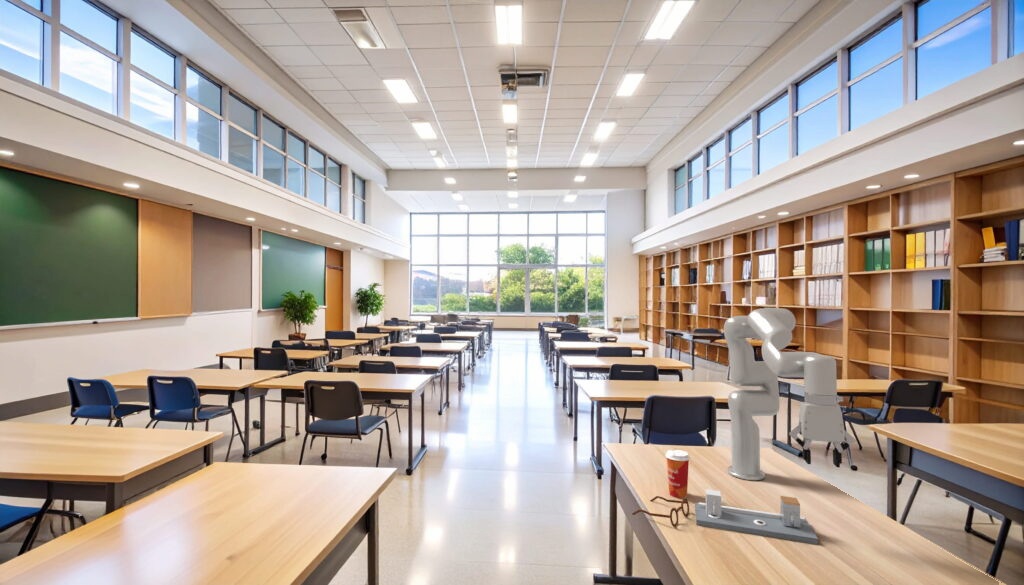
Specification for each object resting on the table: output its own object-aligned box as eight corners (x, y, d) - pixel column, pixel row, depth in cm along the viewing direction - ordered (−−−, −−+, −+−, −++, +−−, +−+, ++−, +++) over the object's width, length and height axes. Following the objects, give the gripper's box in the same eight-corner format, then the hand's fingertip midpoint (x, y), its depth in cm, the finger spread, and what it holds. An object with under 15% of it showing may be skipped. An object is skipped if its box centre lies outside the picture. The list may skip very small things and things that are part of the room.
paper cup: (662, 490, 152) (661, 449, 153) (683, 489, 153) (683, 448, 153) (672, 500, 145) (671, 457, 145) (694, 499, 145) (694, 456, 146)
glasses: (673, 530, 126) (672, 512, 126) (631, 515, 135) (631, 499, 135) (690, 514, 136) (690, 497, 136) (650, 501, 145) (650, 486, 145)
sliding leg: (780, 518, 128) (780, 495, 128) (796, 521, 127) (796, 497, 127) (784, 526, 124) (784, 502, 124) (801, 529, 122) (800, 504, 123)
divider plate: (695, 507, 140) (694, 483, 140) (805, 523, 129) (805, 497, 129) (696, 524, 128) (696, 498, 129) (817, 544, 118) (817, 515, 118)
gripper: (852, 399, 124) (854, 463, 124) (782, 394, 130) (783, 456, 130) (863, 404, 117) (864, 473, 117) (788, 400, 123) (789, 464, 123)
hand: (822, 463), depth 123 cm, fingers open, 6 cm apart
